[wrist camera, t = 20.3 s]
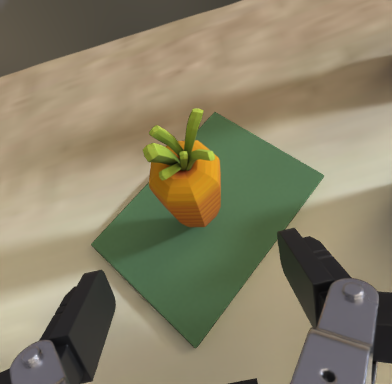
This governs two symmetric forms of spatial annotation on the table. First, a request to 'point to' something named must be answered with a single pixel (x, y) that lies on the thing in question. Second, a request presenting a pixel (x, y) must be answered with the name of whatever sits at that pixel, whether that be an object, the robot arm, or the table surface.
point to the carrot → (185, 175)
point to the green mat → (209, 231)
